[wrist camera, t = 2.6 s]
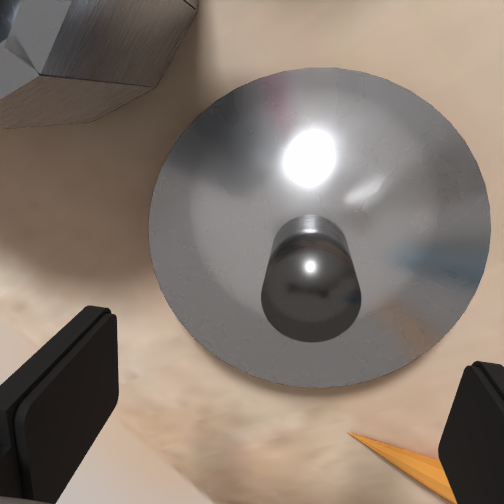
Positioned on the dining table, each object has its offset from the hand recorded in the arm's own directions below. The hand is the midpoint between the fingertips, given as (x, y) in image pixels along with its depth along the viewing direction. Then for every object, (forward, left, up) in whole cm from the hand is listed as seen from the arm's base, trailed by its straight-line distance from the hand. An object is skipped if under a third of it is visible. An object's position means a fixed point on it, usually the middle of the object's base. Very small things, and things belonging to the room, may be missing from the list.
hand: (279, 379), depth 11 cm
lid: (-1, 0, -12) cm, 12 cm away
